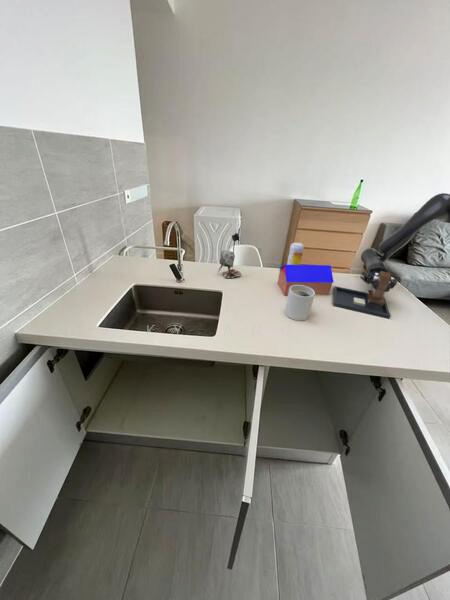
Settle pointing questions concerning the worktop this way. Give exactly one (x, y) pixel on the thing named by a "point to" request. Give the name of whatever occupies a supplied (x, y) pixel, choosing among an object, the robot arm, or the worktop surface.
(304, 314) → the mug
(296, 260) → the white capped yellow bottle
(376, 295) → the brown post on base
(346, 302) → the tray
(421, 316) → the worktop surface
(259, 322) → the worktop surface
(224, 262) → the bird figurine
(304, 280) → the blue-topped block
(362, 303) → the paper scrap
